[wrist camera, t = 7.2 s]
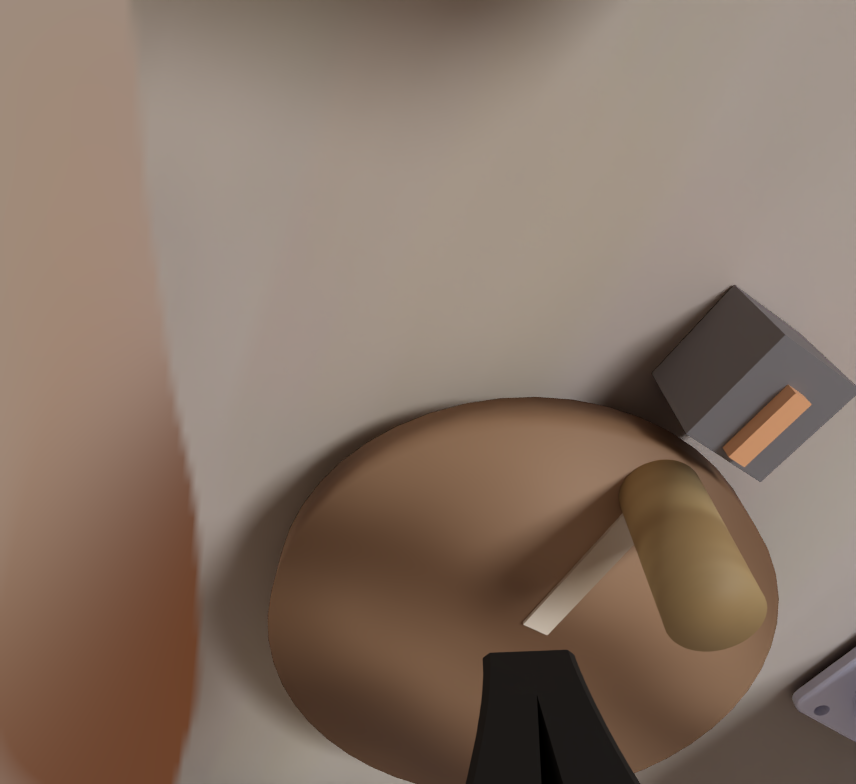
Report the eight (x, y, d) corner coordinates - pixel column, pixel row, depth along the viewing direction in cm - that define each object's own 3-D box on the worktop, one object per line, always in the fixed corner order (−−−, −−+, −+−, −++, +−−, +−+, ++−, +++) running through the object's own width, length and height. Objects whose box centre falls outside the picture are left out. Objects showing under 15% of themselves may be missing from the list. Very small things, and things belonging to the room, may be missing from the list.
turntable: (566, 801, 26) (596, 982, 22) (202, 659, 23) (142, 837, 18) (862, 540, 21) (994, 709, 16) (436, 298, 17) (438, 421, 12)
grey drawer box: (734, 284, 18) (793, 342, 15) (801, 334, 19) (870, 399, 16) (651, 373, 19) (691, 443, 16) (717, 417, 20) (767, 492, 17)
